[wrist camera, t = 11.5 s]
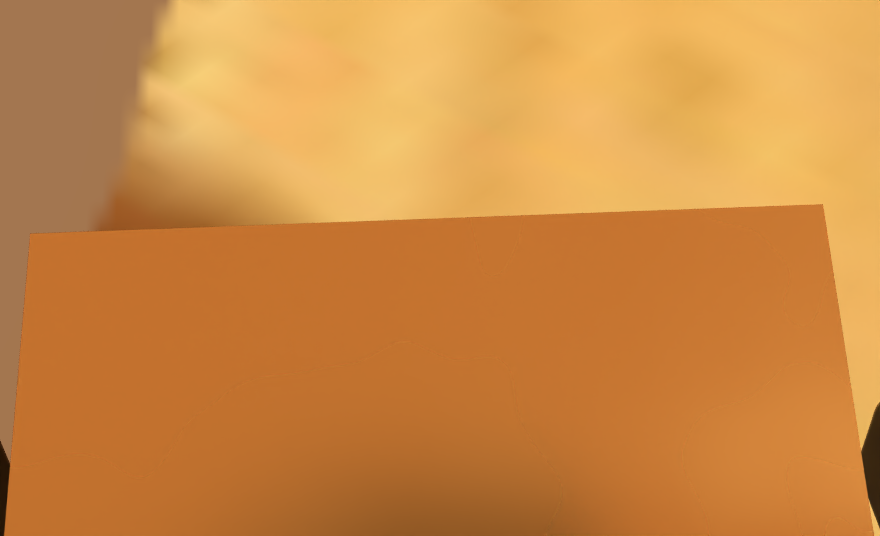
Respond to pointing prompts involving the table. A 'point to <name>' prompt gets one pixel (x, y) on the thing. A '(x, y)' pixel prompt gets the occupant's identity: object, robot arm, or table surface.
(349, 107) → the table surface
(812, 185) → the table surface
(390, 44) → the table surface
